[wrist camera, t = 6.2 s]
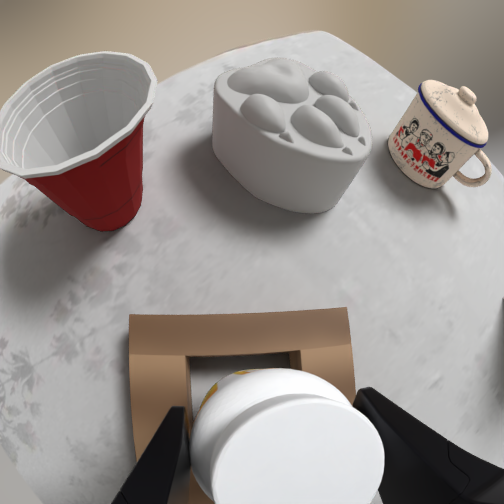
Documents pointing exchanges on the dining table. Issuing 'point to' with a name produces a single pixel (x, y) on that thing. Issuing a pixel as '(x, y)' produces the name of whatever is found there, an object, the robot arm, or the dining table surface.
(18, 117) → the plastic cup
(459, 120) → the teacup with lid
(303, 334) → the bottle holder
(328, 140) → the lumpy-topped squat cylinder
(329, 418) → the supplement bottle
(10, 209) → the dining table surface
